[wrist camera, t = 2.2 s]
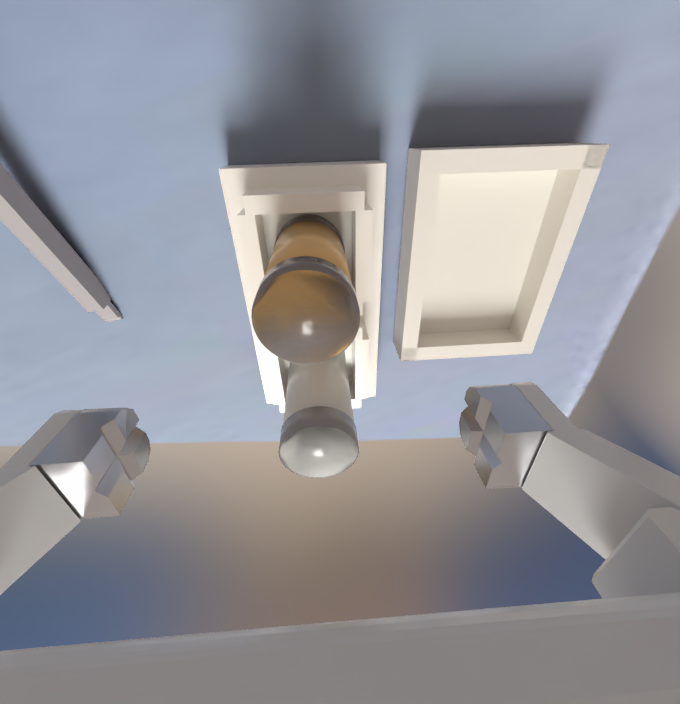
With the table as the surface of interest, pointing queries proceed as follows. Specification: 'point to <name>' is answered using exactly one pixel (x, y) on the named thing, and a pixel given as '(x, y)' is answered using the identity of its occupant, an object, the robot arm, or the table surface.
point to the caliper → (52, 248)
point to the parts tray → (486, 244)
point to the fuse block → (365, 272)
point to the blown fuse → (306, 294)
